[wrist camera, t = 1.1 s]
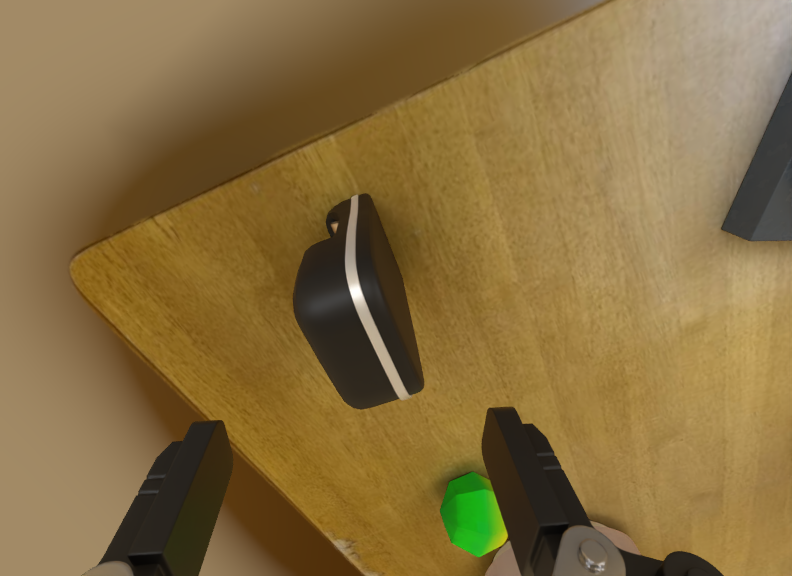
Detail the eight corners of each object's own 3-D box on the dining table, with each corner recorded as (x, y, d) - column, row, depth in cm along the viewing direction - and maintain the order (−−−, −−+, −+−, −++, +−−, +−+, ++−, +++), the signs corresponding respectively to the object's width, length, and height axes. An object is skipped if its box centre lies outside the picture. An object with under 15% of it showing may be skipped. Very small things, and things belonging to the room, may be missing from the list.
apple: (448, 570, 30) (555, 569, 31) (450, 484, 32) (551, 485, 33) (429, 533, 37) (516, 533, 38) (431, 464, 39) (515, 466, 40)
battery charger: (308, 208, 23) (267, 308, 13) (367, 186, 23) (372, 271, 13) (353, 300, 26) (347, 437, 16) (404, 282, 26) (432, 411, 16)
